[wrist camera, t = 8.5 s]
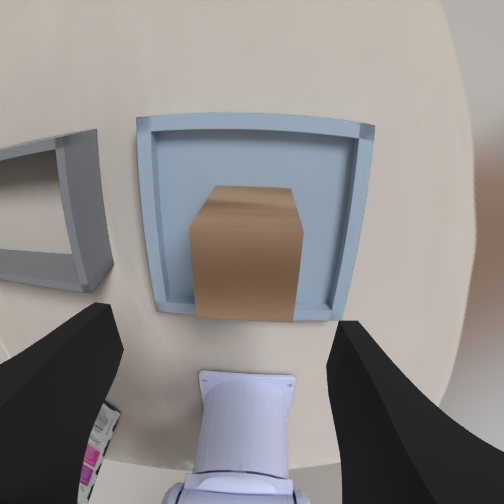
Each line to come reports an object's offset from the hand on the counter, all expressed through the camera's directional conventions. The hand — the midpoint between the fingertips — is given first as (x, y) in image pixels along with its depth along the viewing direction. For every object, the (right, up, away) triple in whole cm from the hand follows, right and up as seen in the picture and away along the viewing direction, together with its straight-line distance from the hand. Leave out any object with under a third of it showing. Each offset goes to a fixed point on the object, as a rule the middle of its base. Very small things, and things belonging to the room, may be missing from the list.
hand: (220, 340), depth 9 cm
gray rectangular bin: (-17, +6, +8) cm, 20 cm away
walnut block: (+1, +4, +8) cm, 9 cm away
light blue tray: (+1, +5, +8) cm, 10 cm away
